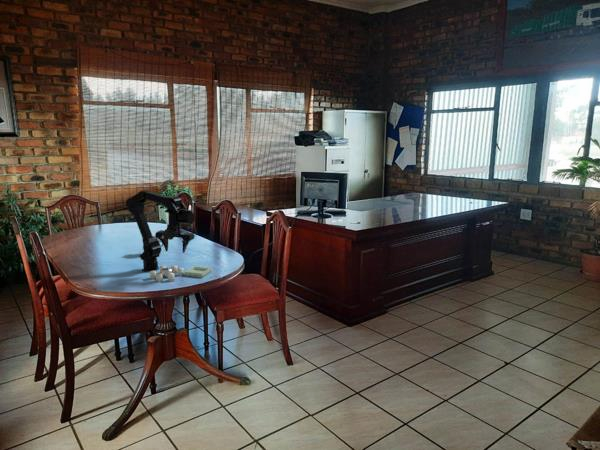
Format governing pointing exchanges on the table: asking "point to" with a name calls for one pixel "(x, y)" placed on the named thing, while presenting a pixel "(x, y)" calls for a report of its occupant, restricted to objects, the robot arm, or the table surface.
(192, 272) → the parts tray
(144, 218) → the robot arm
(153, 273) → the nylon spacers
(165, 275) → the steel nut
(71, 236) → the table surface
